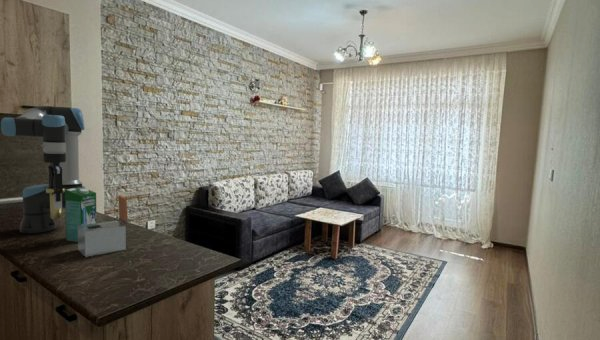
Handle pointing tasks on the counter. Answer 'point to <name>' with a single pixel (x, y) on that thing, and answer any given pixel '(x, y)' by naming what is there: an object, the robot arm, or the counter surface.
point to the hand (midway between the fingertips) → (56, 207)
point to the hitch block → (101, 238)
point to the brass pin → (53, 212)
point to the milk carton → (79, 210)
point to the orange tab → (122, 209)
